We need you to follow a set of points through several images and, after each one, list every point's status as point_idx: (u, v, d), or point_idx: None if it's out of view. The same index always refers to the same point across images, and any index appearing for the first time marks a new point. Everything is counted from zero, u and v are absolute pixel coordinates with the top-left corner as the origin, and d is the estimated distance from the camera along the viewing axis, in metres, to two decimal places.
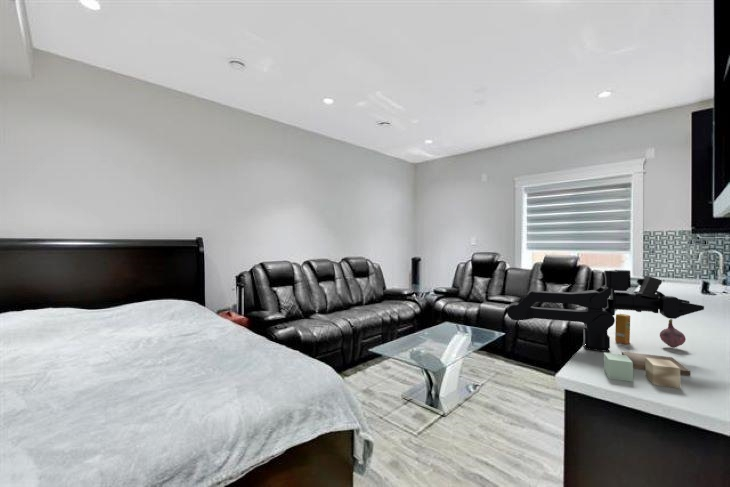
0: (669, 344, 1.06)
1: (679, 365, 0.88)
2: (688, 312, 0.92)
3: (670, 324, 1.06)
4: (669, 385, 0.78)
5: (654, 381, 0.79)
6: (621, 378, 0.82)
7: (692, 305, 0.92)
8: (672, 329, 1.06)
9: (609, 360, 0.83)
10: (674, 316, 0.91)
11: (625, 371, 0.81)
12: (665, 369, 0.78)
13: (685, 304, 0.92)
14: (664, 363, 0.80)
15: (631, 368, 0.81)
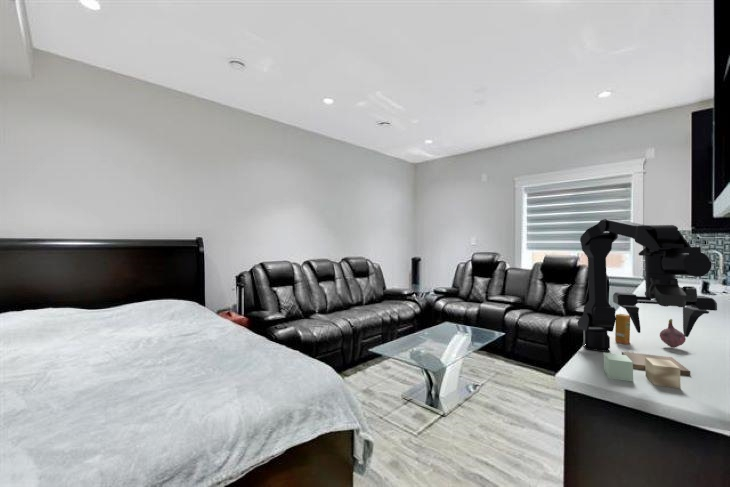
0: (669, 344, 1.06)
1: (679, 365, 0.88)
2: (630, 316, 0.85)
3: (670, 324, 1.06)
4: (669, 385, 0.78)
5: (654, 381, 0.79)
6: (621, 378, 0.82)
7: (634, 322, 0.83)
8: (672, 329, 1.06)
9: (609, 360, 0.83)
10: (613, 300, 0.87)
11: (625, 371, 0.81)
12: (665, 369, 0.78)
13: None
14: (664, 363, 0.80)
15: (631, 368, 0.81)
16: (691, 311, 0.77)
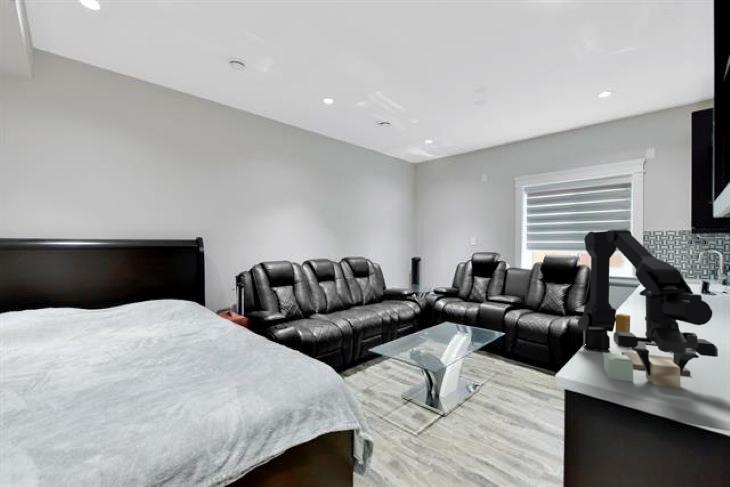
0: None
1: None
2: (640, 357, 0.84)
3: None
4: (669, 385, 0.77)
5: (654, 381, 0.79)
6: (622, 378, 0.82)
7: (644, 364, 0.82)
8: None
9: (609, 360, 0.83)
10: (614, 339, 0.87)
11: (625, 371, 0.81)
12: (665, 368, 0.78)
13: None
14: (664, 362, 0.80)
15: (631, 368, 0.81)
16: (681, 354, 0.77)
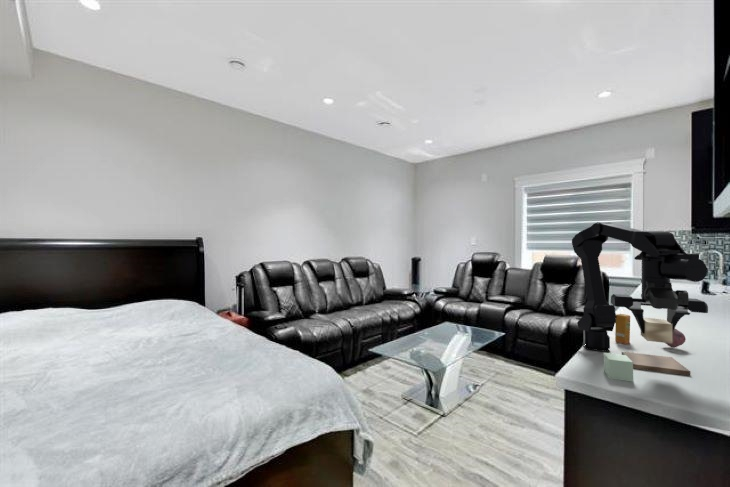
0: (669, 344, 1.06)
1: (679, 365, 0.88)
2: (635, 317, 0.89)
3: None
4: (662, 340, 0.83)
5: (648, 337, 0.84)
6: (622, 378, 0.82)
7: (639, 323, 0.87)
8: None
9: (609, 360, 0.83)
10: (611, 301, 0.92)
11: (625, 371, 0.81)
12: (658, 325, 0.83)
13: None
14: (658, 321, 0.85)
15: (631, 368, 0.81)
16: (673, 312, 0.83)
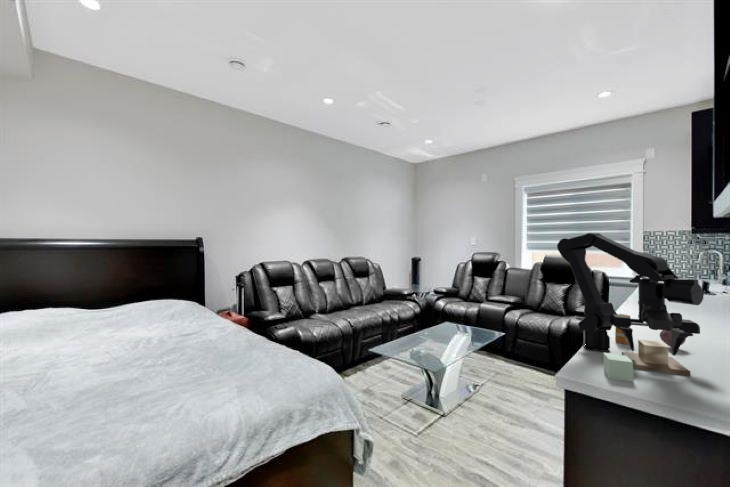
0: (669, 344, 1.06)
1: (679, 365, 0.88)
2: (625, 336, 0.96)
3: None
4: (658, 362, 0.89)
5: (645, 359, 0.90)
6: (622, 378, 0.82)
7: (628, 341, 0.94)
8: None
9: (609, 360, 0.83)
10: (610, 321, 0.98)
11: (625, 371, 0.81)
12: (655, 348, 0.89)
13: None
14: (654, 343, 0.91)
15: (631, 368, 0.81)
16: (678, 333, 0.88)
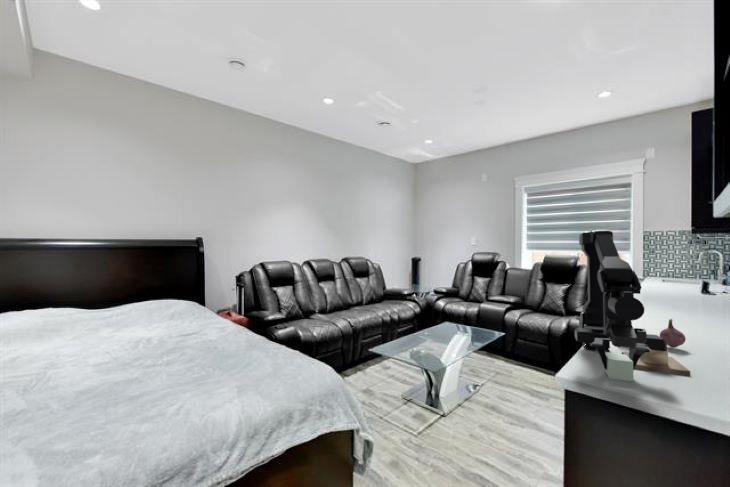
0: (669, 344, 1.06)
1: (679, 365, 0.88)
2: None
3: (670, 324, 1.06)
4: (658, 362, 0.89)
5: (645, 359, 0.90)
6: (622, 378, 0.82)
7: (601, 359, 0.86)
8: (672, 329, 1.06)
9: (609, 360, 0.83)
10: None
11: (625, 371, 0.81)
12: None
13: None
14: None
15: (631, 368, 0.81)
16: (634, 349, 0.82)
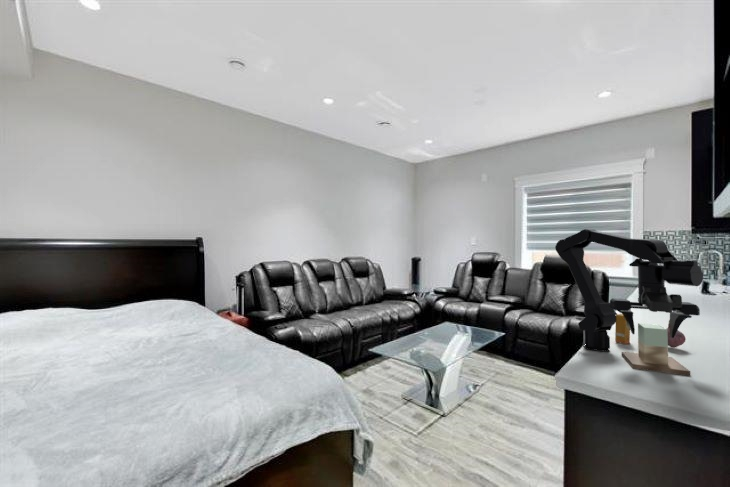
0: (669, 344, 1.06)
1: (679, 365, 0.88)
2: (626, 320, 0.96)
3: None
4: (658, 362, 0.89)
5: (645, 359, 0.90)
6: (657, 345, 0.89)
7: (629, 324, 0.94)
8: None
9: (645, 328, 0.91)
10: (610, 305, 0.98)
11: (660, 338, 0.89)
12: (655, 348, 0.89)
13: None
14: None
15: (666, 335, 0.88)
16: (676, 315, 0.88)
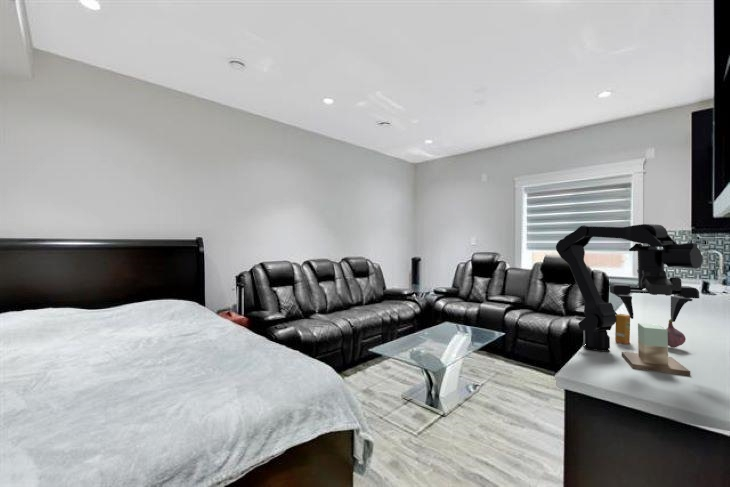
0: (669, 344, 1.06)
1: (679, 365, 0.88)
2: (624, 304, 0.96)
3: (670, 324, 1.06)
4: (658, 362, 0.89)
5: (645, 359, 0.90)
6: (657, 345, 0.89)
7: (628, 309, 0.94)
8: (672, 329, 1.06)
9: (645, 328, 0.91)
10: (610, 290, 0.98)
11: (660, 338, 0.89)
12: (655, 348, 0.89)
13: None
14: None
15: (666, 335, 0.88)
16: (677, 299, 0.88)
